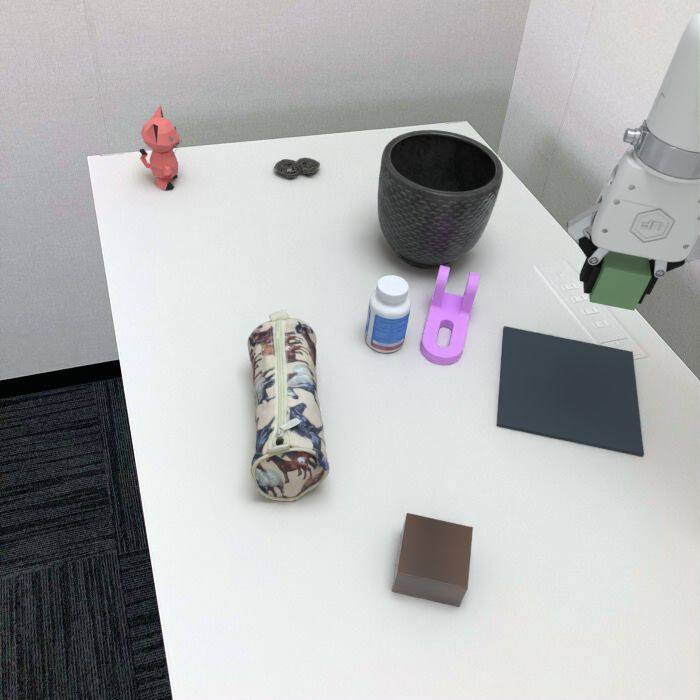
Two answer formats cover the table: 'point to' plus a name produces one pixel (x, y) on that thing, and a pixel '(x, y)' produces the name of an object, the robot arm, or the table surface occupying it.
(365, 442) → the table surface
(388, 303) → the pill bottle
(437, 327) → the bracket
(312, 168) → the corroded twin loop
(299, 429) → the pencil case
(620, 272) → the green cube
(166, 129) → the cat figurine
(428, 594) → the walnut base block
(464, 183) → the planter
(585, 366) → the mat
